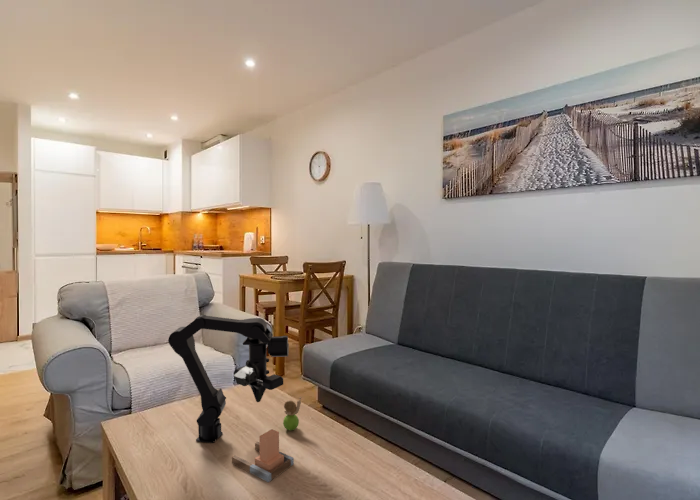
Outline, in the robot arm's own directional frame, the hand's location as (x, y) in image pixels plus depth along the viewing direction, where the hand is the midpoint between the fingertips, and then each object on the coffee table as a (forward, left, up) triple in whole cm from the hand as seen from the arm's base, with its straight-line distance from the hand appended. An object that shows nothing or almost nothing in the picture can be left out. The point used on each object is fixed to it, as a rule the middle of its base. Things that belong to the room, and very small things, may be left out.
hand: (258, 401), depth 137 cm
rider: (+10, -16, -12) cm, 23 cm away
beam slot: (+8, -15, -12) cm, 21 cm away
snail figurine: (+10, +6, -12) cm, 17 cm away
